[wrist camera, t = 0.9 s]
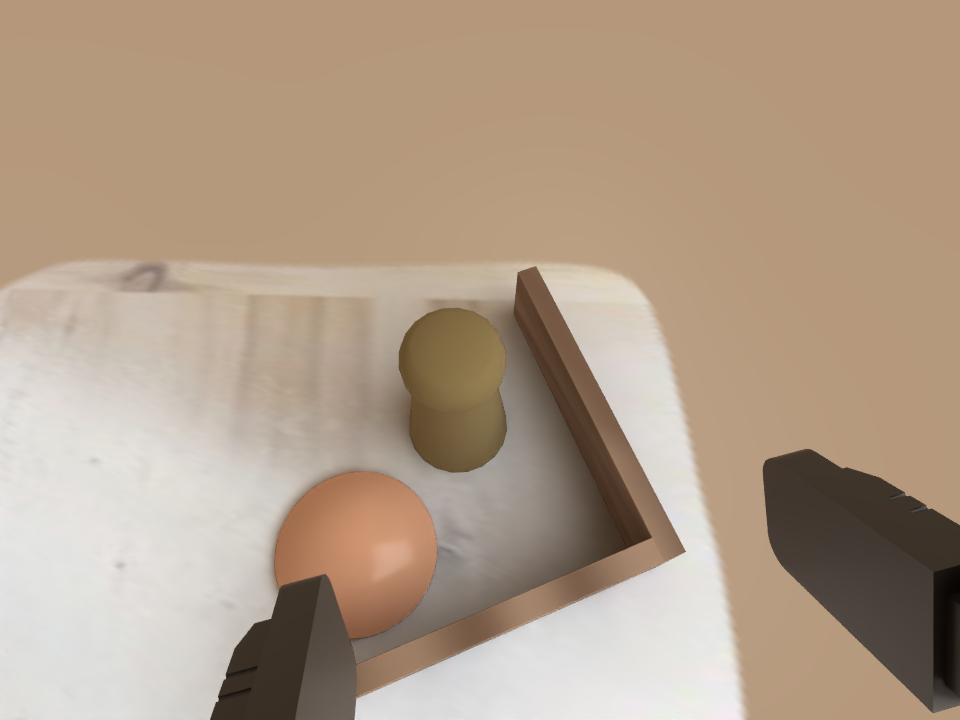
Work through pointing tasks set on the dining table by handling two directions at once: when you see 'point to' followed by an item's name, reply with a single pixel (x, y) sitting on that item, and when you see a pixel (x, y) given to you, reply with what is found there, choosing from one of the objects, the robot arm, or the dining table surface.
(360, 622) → the terracotta coaster
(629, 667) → the dining table surface
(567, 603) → the walnut corner walls
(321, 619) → the robot arm
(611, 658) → the dining table surface
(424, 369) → the cork
